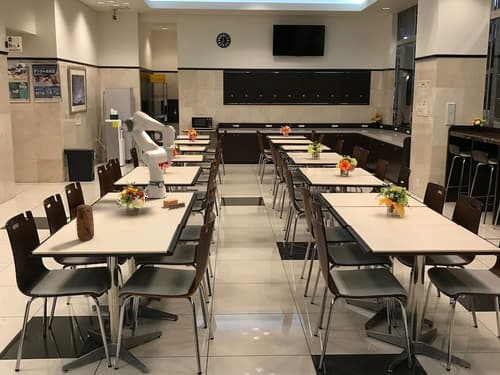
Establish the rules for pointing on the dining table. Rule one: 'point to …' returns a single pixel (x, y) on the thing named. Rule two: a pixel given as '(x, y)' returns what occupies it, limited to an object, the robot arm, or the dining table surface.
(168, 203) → the orange block
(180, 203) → the walnut board
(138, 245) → the dining table surface
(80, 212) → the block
